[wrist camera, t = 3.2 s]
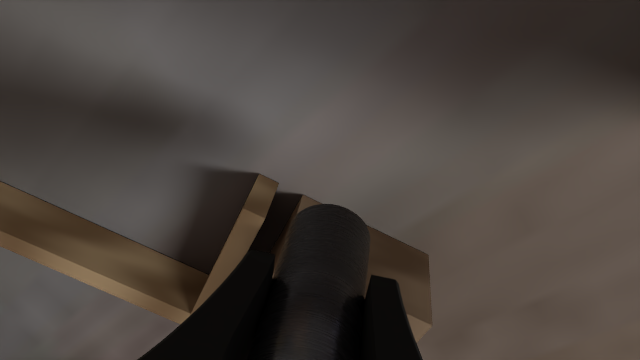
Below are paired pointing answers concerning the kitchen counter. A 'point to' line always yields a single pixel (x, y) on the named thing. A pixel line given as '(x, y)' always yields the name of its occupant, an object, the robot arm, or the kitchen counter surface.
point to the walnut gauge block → (389, 271)
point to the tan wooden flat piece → (125, 252)
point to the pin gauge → (316, 289)
